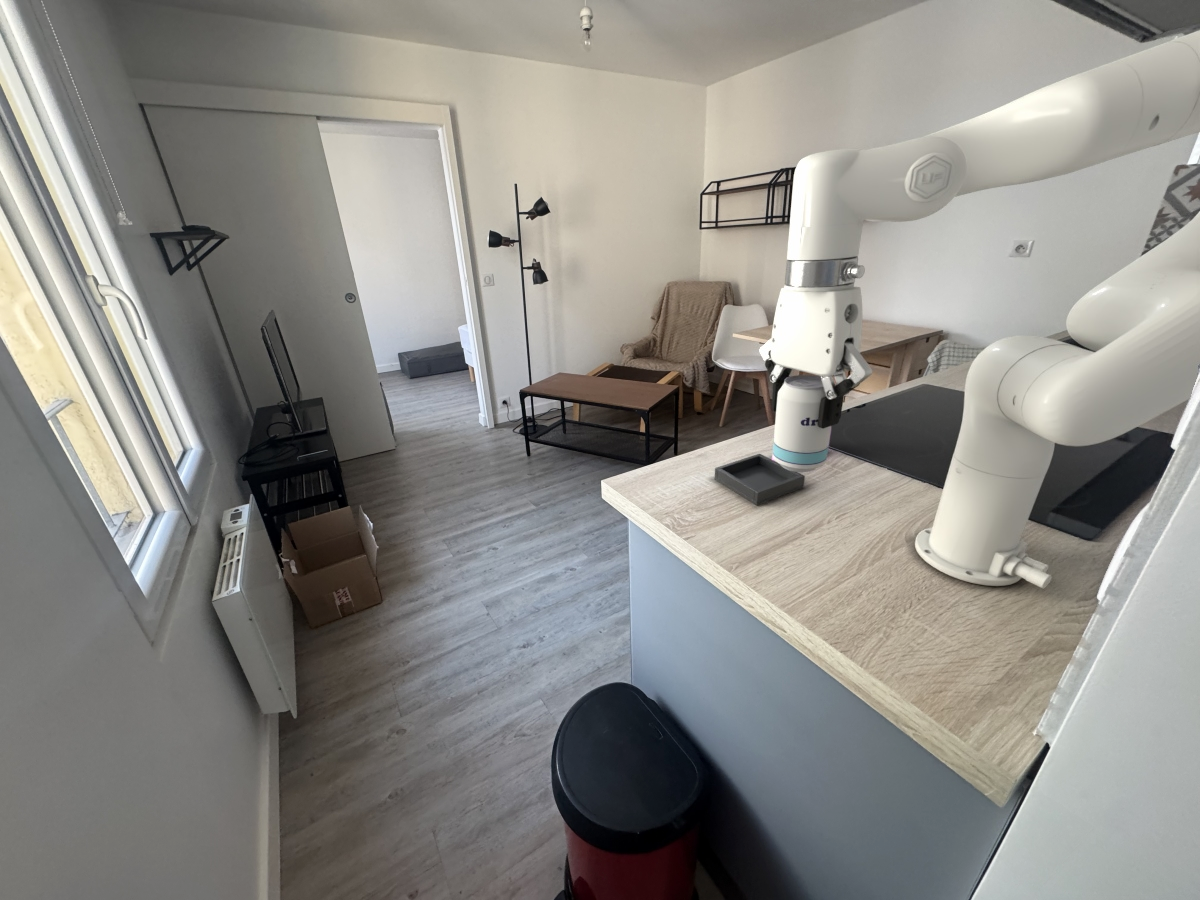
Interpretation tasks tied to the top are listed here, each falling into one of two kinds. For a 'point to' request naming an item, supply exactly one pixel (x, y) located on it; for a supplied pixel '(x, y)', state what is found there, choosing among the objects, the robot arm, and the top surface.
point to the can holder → (759, 478)
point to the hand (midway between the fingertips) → (803, 415)
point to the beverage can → (800, 425)
